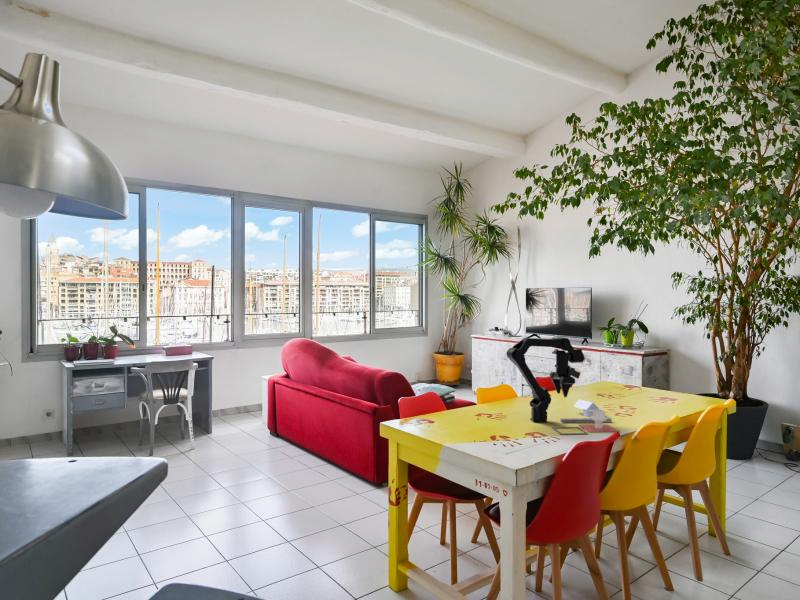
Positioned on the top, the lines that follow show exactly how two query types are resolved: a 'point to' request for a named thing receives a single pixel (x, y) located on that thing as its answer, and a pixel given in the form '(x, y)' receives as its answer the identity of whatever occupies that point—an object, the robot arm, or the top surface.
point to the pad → (604, 429)
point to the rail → (582, 420)
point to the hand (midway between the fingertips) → (562, 395)
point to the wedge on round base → (586, 407)
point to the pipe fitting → (598, 417)
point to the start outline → (570, 433)
